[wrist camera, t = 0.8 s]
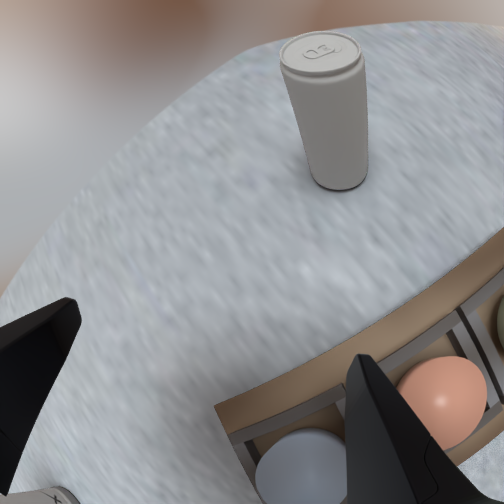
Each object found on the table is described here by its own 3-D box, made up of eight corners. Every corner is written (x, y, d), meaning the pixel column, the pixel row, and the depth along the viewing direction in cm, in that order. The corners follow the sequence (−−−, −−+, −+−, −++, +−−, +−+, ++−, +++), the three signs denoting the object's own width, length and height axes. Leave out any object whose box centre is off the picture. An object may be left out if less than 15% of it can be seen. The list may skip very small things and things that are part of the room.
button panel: (562, 353, 13) (586, 349, 9) (292, 529, 15) (281, 551, 12) (499, 232, 18) (517, 212, 15) (224, 402, 20) (203, 408, 17)
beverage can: (379, 177, 23) (382, 54, 12) (329, 204, 23) (304, 85, 13) (347, 139, 25) (330, 22, 14) (301, 163, 25) (262, 48, 15)
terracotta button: (481, 407, 12) (498, 412, 10) (411, 455, 13) (420, 468, 10) (449, 340, 14) (463, 336, 12) (378, 388, 15) (382, 392, 13)
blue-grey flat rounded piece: (365, 479, 13) (366, 496, 11) (288, 509, 13) (278, 526, 11) (330, 413, 15) (327, 421, 13) (254, 446, 16) (239, 457, 13)
